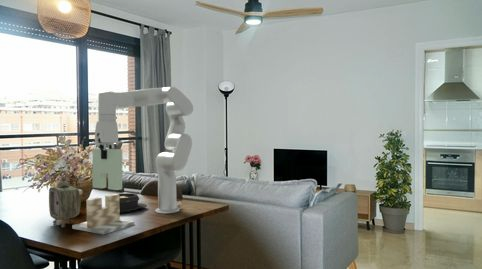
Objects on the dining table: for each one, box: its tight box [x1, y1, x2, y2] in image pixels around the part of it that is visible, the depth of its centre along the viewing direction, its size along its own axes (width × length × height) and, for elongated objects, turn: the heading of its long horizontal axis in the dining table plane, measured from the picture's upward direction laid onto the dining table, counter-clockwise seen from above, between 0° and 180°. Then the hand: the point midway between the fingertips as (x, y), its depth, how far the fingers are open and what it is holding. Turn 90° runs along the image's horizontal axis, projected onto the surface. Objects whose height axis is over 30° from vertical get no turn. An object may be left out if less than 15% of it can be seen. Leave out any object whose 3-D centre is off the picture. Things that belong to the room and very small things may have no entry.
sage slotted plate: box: [92, 148, 123, 191], centre depth 177 cm, size 3×16×18 cm, turn 61°
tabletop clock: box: [48, 170, 81, 229], centre depth 180 cm, size 14×9×25 cm, turn 45°
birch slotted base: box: [71, 193, 136, 235], centre depth 176 cm, size 18×20×14 cm
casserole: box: [118, 192, 148, 214], centre depth 208 cm, size 25×19×8 cm
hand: (107, 158), depth 177 cm, fingers closed on sage slotted plate, 3 cm apart
